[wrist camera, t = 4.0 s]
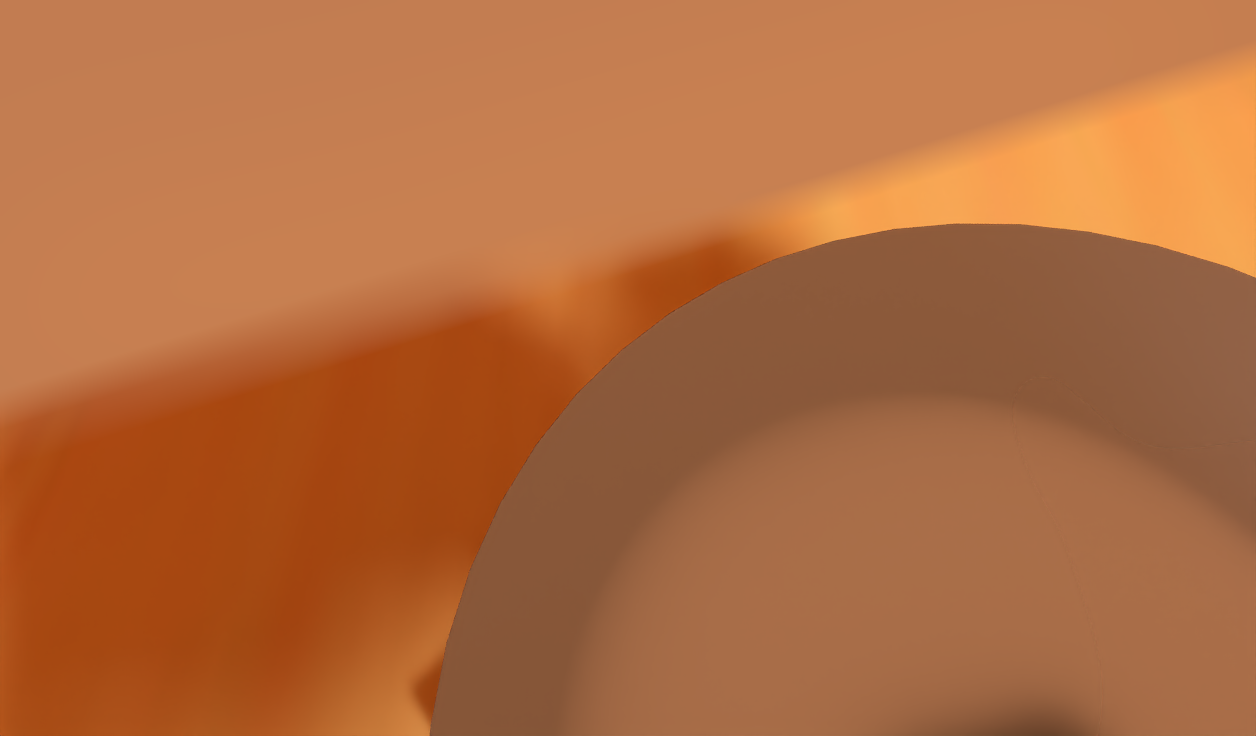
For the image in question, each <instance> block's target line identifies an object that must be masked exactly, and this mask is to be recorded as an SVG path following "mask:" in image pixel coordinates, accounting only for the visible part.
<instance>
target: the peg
mask: <svg viewBox="0 0 1256 736" xmlns="http://www.w3.org/2000/svg"><path fill="white" fill-rule="evenodd" d="M430 736H1256V278H1255V277H1252V276H1250V275H1247V274H1245V273H1242V272H1240V271H1237V270H1235V269H1232V268H1229V267H1227V266H1223V265H1220V264H1217V263H1213V262H1210V261H1207V260H1203V259H1200V258H1196V257H1193V256H1190V255H1186V254H1183V253H1180V252H1176V251H1173V250H1170V249H1166V248H1163V247H1159V246H1156V245H1151V244H1146V243H1141V242H1136V241H1131V240H1126V239H1121V238H1116V237H1111V236H1106V235H1102V234H1097V233H1092V232H1086V231H1077V230H1067V229H1058V228H1049V227H1040V226H1031V225H1021V224H947V225H936V226H924V227H913V228H902V229H892V230H887V231H882V232H877V233H872V234H867V235H861V236H856V237H851V238H846V239H841V240H836V241H832V242H829V243H825V244H822V245H819V246H816V247H813V248H809V249H806V250H803V251H800V252H797V253H793V254H790V255H787V256H784V257H780V258H777V259H775V260H772V261H770V262H768V263H766V264H763V265H761V266H759V267H757V268H754V269H752V270H750V271H747V272H745V273H743V274H741V275H738V276H736V277H734V278H732V279H729V280H727V281H725V282H722V283H721V284H719V285H717V286H715V287H714V288H712V289H710V290H709V291H707V292H705V293H704V294H702V295H700V296H698V297H697V298H695V299H693V300H692V301H690V302H688V303H687V304H685V305H683V306H681V307H680V308H678V309H676V310H675V311H673V312H671V313H670V314H668V315H667V316H666V317H664V318H663V319H662V320H661V321H659V322H658V323H657V324H655V325H654V326H653V327H651V328H650V329H649V330H647V331H646V332H645V333H643V334H642V335H641V336H640V337H638V338H637V339H636V340H634V341H633V342H632V343H630V344H629V345H628V346H626V347H625V348H624V349H622V350H621V351H620V352H619V353H618V354H617V355H616V356H615V357H614V358H613V359H612V360H611V361H610V362H609V363H608V364H607V365H606V366H605V367H604V368H603V369H602V370H601V371H600V372H599V373H598V374H597V375H596V376H595V377H594V378H593V379H592V380H591V381H590V382H589V383H587V384H586V385H585V386H584V387H583V388H582V389H581V390H580V391H579V392H578V393H577V394H576V396H575V397H574V398H573V399H572V401H571V402H570V403H569V404H568V406H567V407H566V408H565V409H564V411H563V412H562V413H561V414H560V416H559V417H558V418H557V419H556V421H555V422H554V423H553V424H552V426H551V427H550V428H549V429H548V431H547V432H546V433H545V434H544V436H543V437H542V438H541V439H540V441H539V442H538V443H537V444H536V446H535V448H534V449H533V451H532V452H531V454H530V456H529V457H528V459H527V461H526V462H525V464H524V465H523V467H522V469H521V470H520V472H519V474H518V475H517V477H516V478H515V480H514V482H513V483H512V485H511V487H510V488H509V490H508V492H507V493H506V495H505V496H504V498H503V500H502V501H501V503H500V505H499V507H498V509H497V512H496V514H495V516H494V518H493V520H492V523H491V525H490V527H489V529H488V531H487V534H486V536H485V538H484V540H483V542H482V544H481V547H480V549H479V551H478V553H477V555H476V558H475V560H474V562H473V564H472V566H471V569H470V571H469V575H468V578H467V581H466V584H465V587H464V590H463V593H462V597H461V600H460V603H459V606H458V609H457V612H456V615H455V618H454V622H453V625H452V628H451V631H450V634H449V637H448V640H447V644H446V649H445V654H444V659H443V665H442V670H441V675H440V680H439V685H438V690H437V696H436V701H435V706H434V711H433V716H432V721H431V728H430Z"/></svg>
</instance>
